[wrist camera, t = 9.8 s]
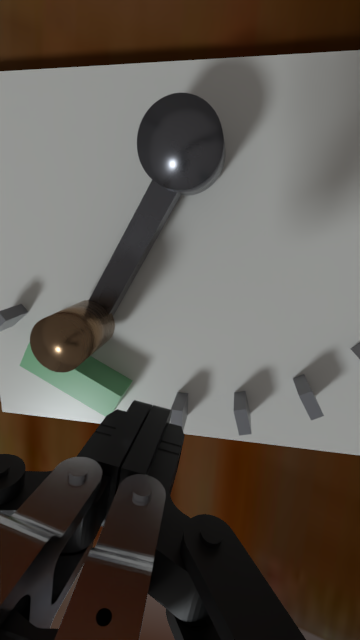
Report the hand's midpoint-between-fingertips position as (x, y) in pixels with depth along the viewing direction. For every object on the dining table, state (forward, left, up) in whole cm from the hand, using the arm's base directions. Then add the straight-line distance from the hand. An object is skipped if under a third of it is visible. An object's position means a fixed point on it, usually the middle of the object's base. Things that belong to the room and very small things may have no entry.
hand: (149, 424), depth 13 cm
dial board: (-4, 0, -12) cm, 13 cm away
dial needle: (-6, -3, -10) cm, 12 cm away
